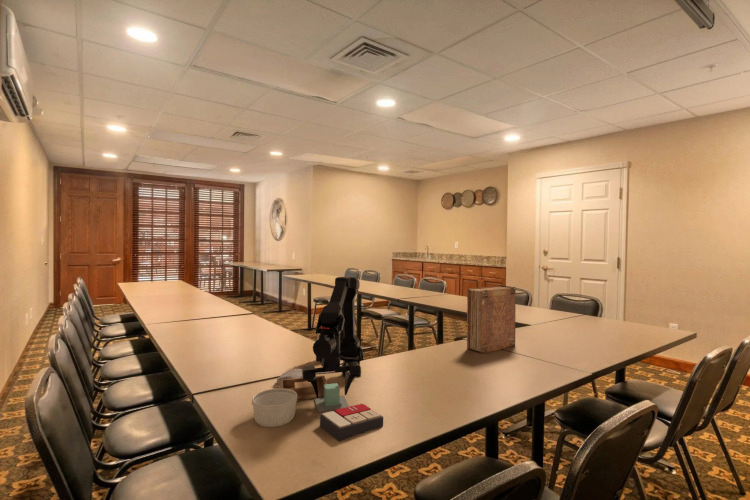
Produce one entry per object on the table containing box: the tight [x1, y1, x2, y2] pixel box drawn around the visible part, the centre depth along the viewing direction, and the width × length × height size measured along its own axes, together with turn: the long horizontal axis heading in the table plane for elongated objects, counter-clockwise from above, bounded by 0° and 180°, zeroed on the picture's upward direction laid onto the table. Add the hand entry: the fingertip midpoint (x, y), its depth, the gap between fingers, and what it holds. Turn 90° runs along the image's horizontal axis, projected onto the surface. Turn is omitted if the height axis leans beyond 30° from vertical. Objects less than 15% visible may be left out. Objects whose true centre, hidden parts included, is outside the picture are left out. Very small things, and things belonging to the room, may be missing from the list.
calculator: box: [319, 403, 384, 442], centre depth 112 cm, size 11×4×15 cm
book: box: [466, 285, 517, 354], centre depth 195 cm, size 25×9×30 cm, turn 123°
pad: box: [314, 395, 350, 413], centre depth 128 cm, size 10×10×1 cm
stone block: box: [276, 368, 303, 387], centre depth 149 cm, size 12×5×10 cm
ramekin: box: [251, 387, 298, 428], centre depth 117 cm, size 13×13×7 cm
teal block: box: [324, 382, 341, 407], centre depth 128 cm, size 4×4×6 cm
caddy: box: [279, 375, 328, 402], centre depth 137 cm, size 16×12×4 cm
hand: (331, 396), depth 128 cm, fingers open, 9 cm apart
